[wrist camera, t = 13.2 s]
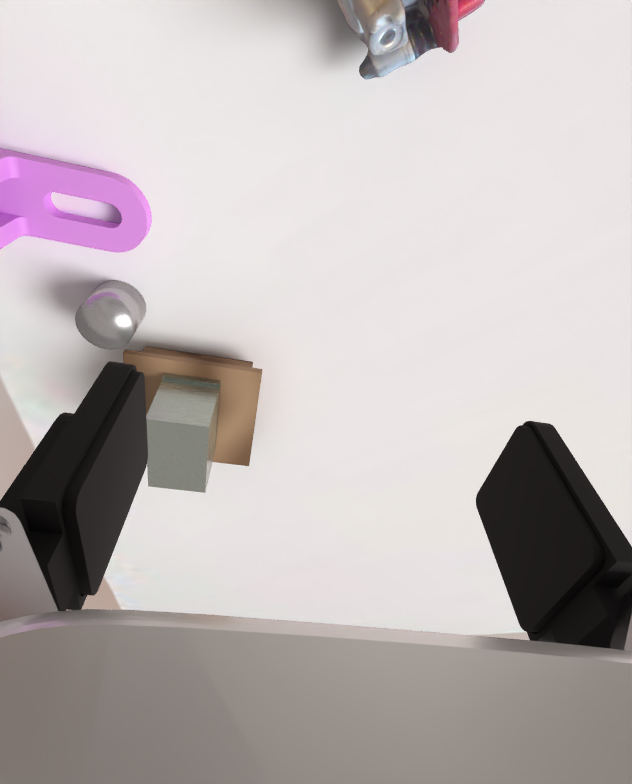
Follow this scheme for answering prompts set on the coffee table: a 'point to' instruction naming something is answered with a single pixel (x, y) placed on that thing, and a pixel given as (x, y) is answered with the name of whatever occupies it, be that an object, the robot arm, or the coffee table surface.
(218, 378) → the stand
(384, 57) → the brake caliper
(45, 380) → the coffee table surface
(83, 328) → the knob
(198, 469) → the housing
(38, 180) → the bracket
